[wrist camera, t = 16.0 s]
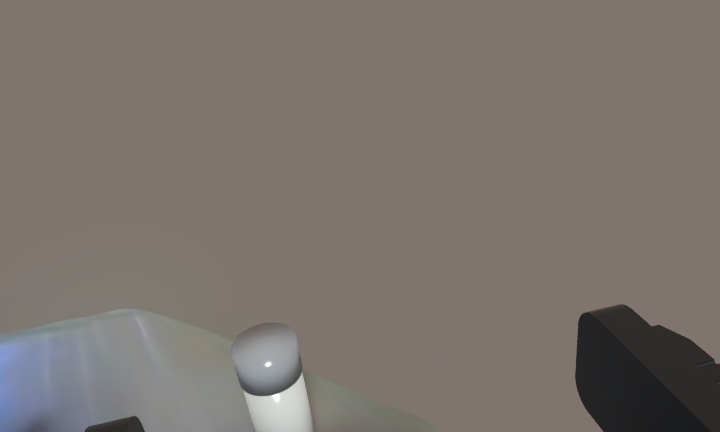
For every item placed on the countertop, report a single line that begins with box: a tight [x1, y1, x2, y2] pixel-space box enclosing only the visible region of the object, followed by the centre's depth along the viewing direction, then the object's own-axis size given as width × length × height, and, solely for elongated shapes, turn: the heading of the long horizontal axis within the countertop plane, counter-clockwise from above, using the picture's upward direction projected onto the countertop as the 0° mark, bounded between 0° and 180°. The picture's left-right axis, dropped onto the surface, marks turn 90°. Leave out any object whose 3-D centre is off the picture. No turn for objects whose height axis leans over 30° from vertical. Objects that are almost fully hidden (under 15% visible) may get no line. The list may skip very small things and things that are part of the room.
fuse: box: [231, 323, 315, 432], centre depth 38 cm, size 4×4×14 cm
